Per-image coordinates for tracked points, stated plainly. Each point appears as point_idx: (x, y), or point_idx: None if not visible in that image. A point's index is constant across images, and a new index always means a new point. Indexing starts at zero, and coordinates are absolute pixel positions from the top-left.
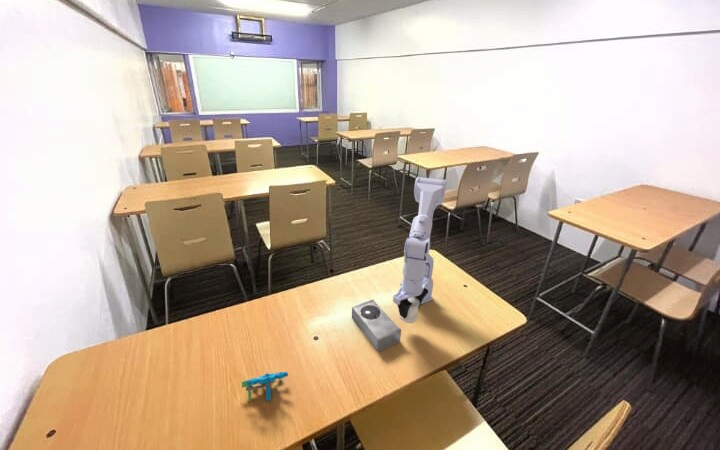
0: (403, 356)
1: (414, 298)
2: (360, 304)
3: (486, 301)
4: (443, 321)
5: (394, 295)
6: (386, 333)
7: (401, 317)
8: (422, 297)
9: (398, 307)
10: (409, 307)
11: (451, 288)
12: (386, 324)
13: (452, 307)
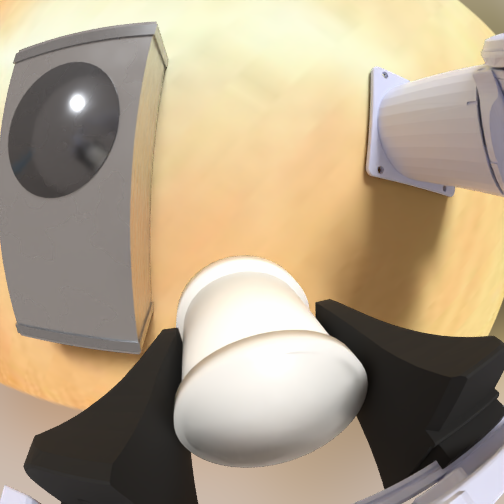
0: (127, 365)
1: (344, 401)
2: (57, 43)
3: (497, 294)
4: (388, 308)
5: (29, 468)
6: (59, 327)
7: (176, 324)
8: (374, 457)
9: (127, 378)
10: (190, 477)
11: (501, 198)
12: (83, 278)
13: (454, 268)
